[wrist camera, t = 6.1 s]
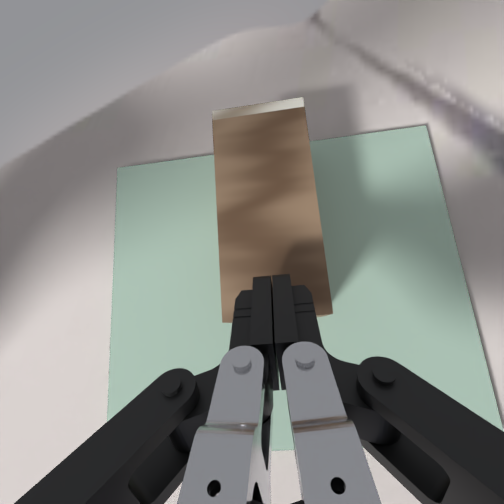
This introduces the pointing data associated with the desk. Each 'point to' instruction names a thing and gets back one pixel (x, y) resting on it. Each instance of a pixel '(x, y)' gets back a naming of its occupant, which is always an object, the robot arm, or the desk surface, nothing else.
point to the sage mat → (338, 267)
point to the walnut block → (267, 201)
